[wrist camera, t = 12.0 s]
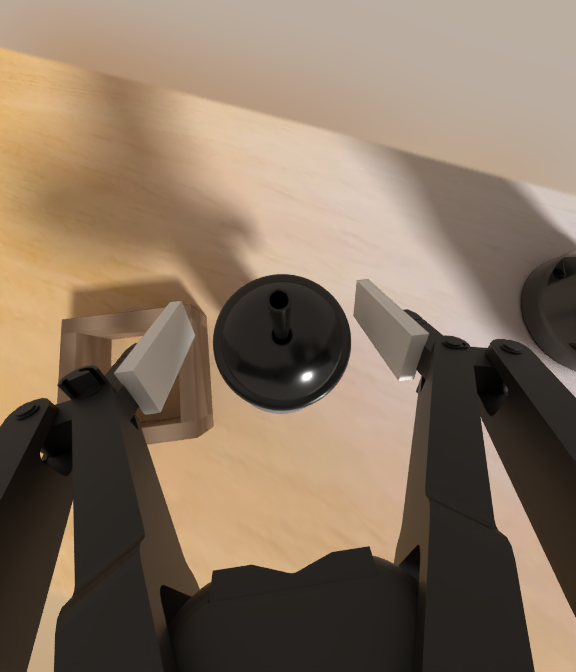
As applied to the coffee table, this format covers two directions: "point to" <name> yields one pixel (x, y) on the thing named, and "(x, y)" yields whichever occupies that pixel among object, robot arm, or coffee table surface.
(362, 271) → the coffee table surface
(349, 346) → the drinking cup
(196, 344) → the wooden square tray
